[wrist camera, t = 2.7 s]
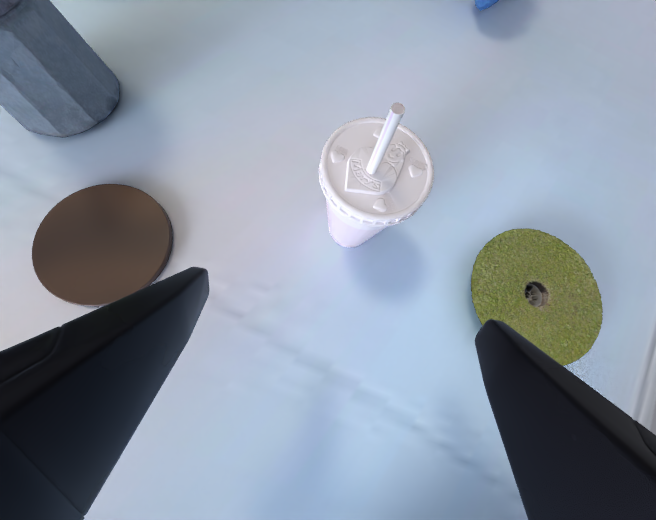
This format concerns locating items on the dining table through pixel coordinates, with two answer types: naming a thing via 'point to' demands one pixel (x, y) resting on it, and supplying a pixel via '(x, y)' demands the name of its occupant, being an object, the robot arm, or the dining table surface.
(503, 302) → the green grainy disc
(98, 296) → the disc
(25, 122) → the moka pot
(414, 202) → the smoothie
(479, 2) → the grapes
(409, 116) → the dining table surface
